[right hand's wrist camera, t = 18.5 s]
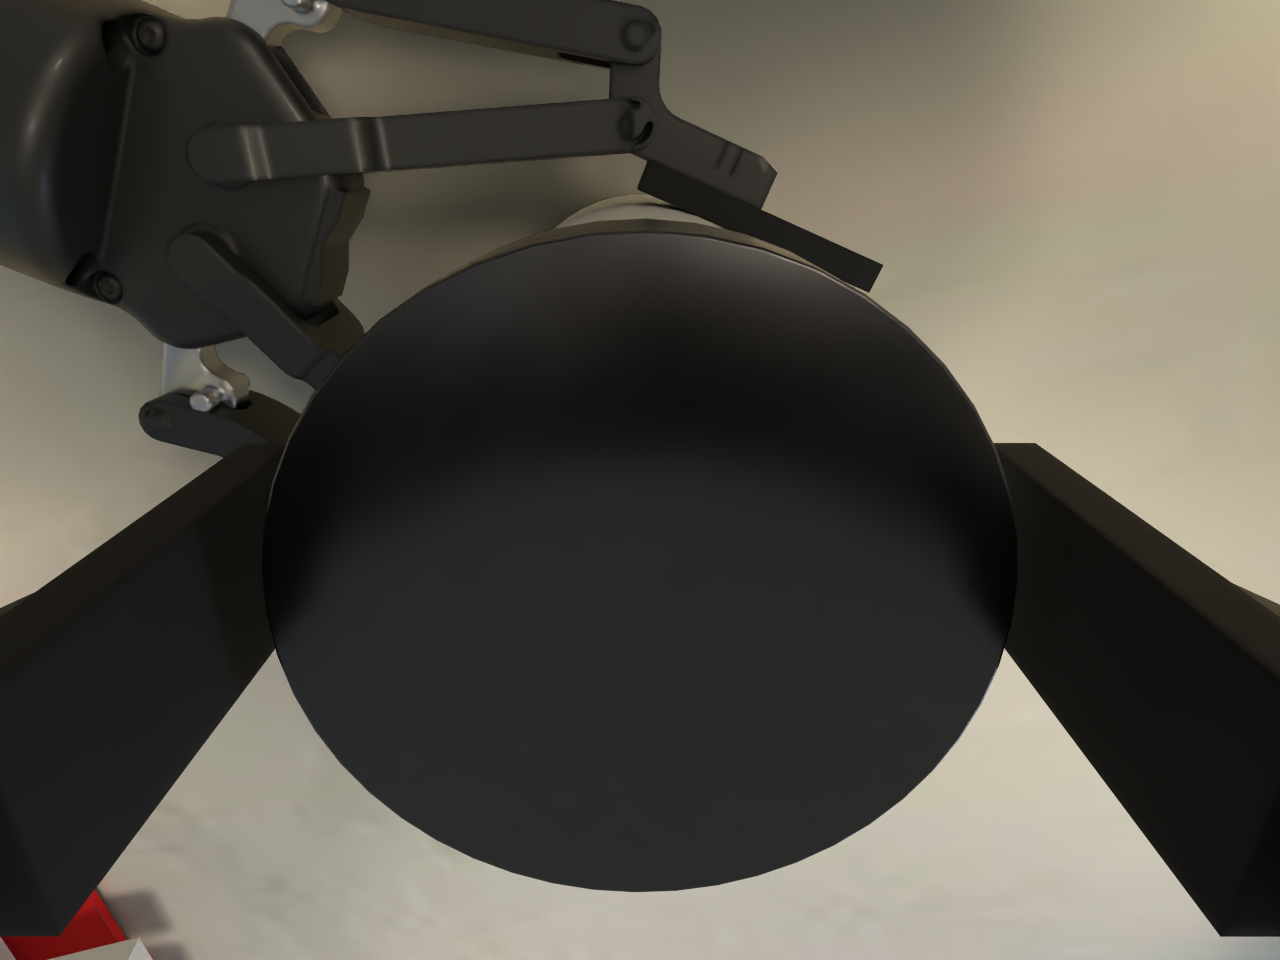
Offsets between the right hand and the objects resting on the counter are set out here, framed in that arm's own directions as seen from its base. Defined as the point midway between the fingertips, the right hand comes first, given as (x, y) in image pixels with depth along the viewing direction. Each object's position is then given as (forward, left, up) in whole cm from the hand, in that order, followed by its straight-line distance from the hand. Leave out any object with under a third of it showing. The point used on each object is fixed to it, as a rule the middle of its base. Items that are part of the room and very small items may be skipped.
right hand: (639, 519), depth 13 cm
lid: (0, 0, +3) cm, 3 cm away
